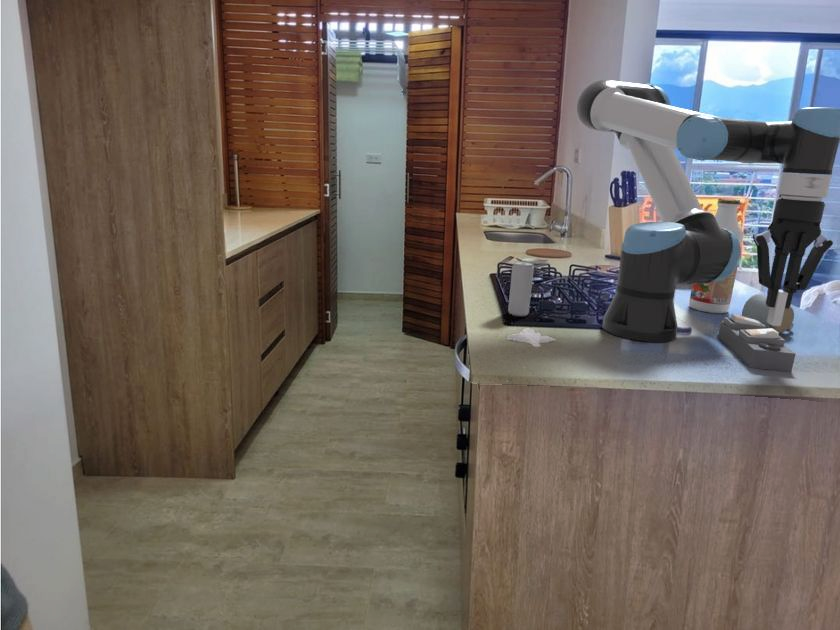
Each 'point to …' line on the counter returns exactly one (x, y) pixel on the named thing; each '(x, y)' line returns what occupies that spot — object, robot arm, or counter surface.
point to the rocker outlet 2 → (763, 333)
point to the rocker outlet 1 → (744, 320)
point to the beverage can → (520, 288)
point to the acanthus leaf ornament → (530, 337)
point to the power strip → (756, 346)
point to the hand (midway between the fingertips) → (773, 323)
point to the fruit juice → (719, 293)
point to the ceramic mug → (766, 313)
